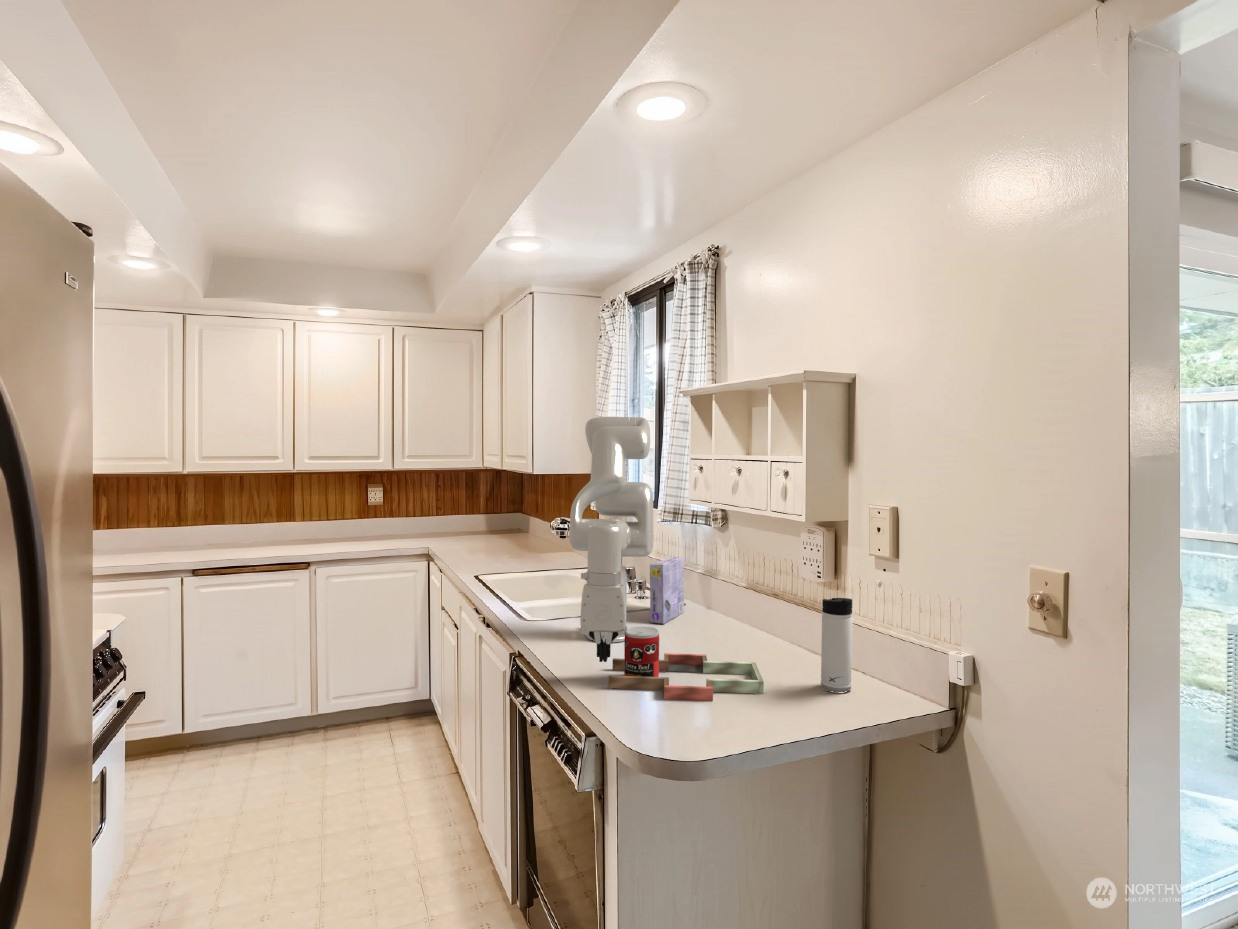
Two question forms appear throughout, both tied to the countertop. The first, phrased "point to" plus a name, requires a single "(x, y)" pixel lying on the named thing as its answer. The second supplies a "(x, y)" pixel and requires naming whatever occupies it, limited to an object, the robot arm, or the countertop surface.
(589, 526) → the robot arm
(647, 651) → the canned food
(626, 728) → the countertop surface
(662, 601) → the cake pan box
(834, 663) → the travel mug
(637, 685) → the box
